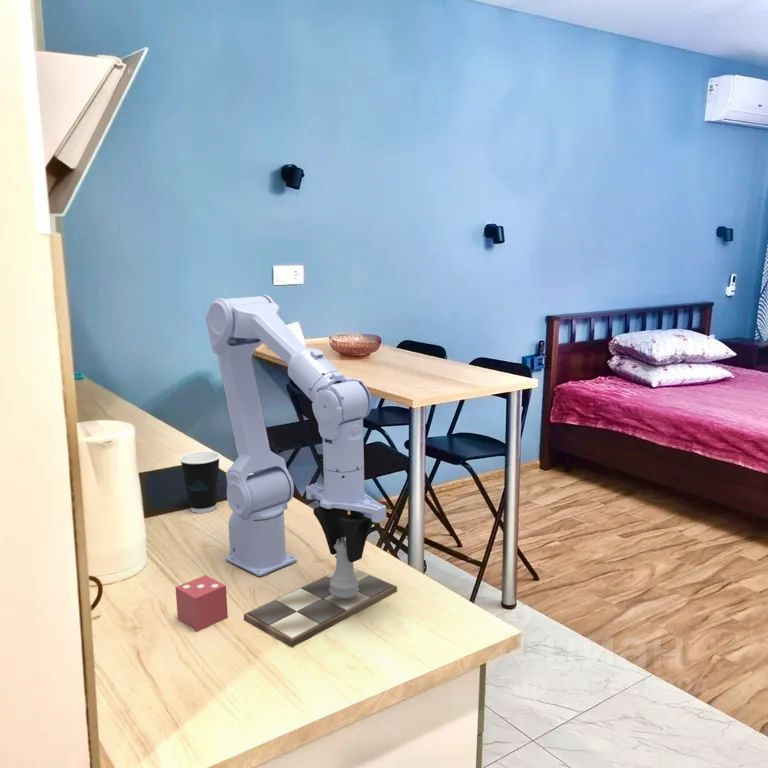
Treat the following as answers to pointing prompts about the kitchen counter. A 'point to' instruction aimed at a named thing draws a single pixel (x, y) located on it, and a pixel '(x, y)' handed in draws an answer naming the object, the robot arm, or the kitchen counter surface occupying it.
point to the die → (201, 602)
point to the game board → (315, 608)
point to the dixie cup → (201, 479)
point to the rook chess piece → (343, 574)
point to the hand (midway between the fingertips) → (346, 555)
